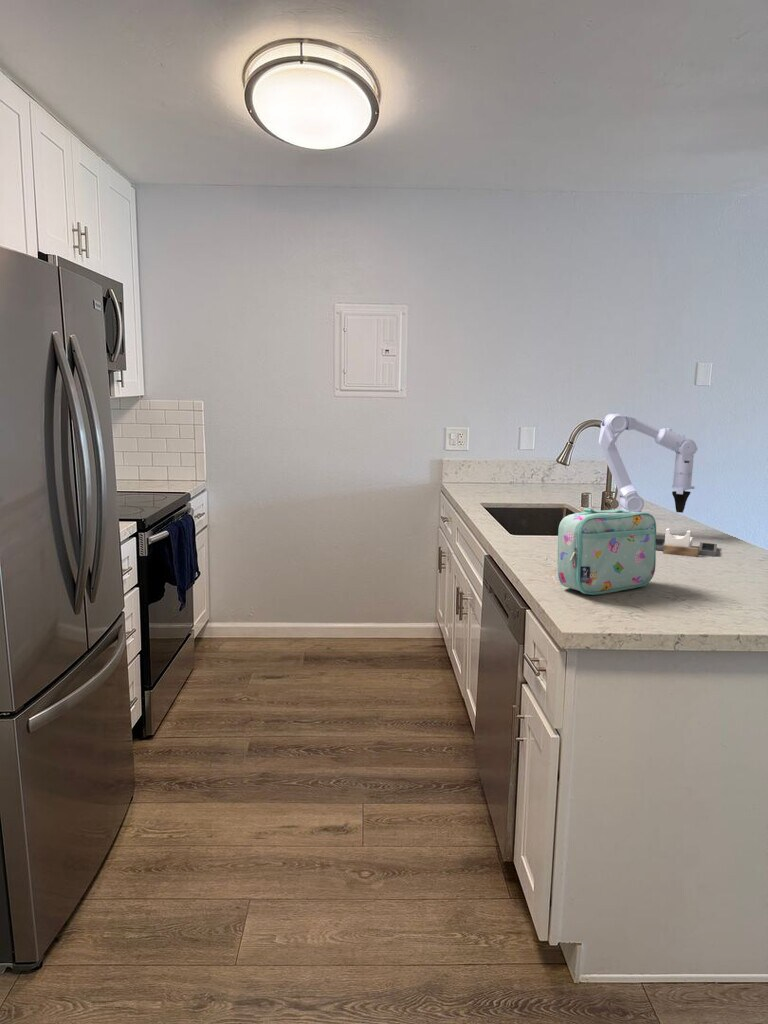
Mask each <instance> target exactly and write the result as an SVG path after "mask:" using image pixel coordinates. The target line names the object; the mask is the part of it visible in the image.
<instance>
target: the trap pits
mask: <svg viewBox="0 0 768 1024" xmlns="http://www.w3.org/2000/svg"><path fill="white" fill-rule="evenodd" d="M664 545H665V538H658V537H657V538H656V552H657V551H658V552H659V551H660V552H663V549H664ZM698 548H699V550H698V556H706V557H707V556H708V557H717V556H716V555H717V549H718V544H717V543H712V542H711V543H709V542H702V541H701V542H699V546H698Z"/></svg>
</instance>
